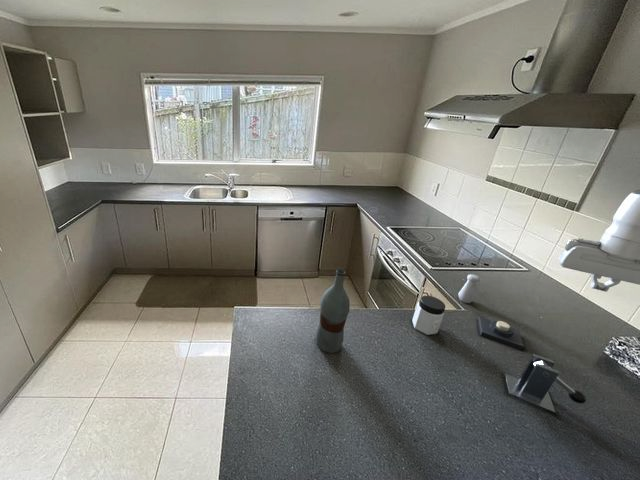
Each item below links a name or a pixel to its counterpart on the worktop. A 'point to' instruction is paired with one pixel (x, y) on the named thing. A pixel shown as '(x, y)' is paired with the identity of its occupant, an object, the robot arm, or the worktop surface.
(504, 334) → the button housing
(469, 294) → the salt shaker
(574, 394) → the toaster lever
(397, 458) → the worktop surface
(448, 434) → the worktop surface
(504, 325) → the button
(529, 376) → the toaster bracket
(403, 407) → the worktop surface
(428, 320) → the jar
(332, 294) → the bottle
